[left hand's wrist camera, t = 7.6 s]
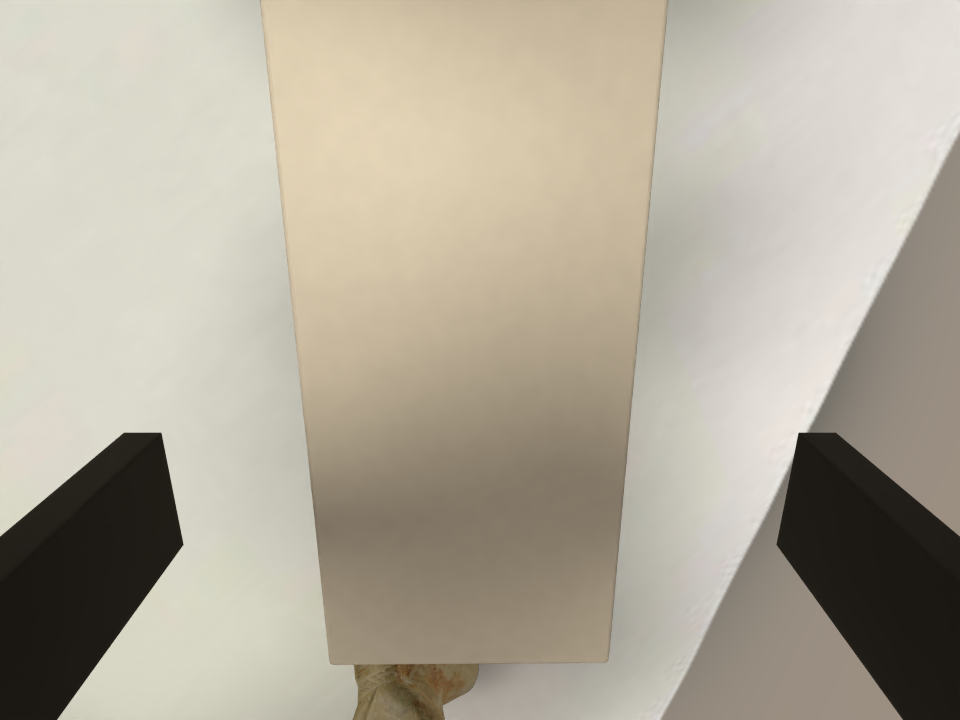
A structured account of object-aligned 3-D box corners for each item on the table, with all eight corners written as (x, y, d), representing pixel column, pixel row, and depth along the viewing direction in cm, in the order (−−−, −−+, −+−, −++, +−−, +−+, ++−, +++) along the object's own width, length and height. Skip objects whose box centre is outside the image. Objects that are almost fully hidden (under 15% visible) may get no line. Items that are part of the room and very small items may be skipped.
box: (558, 468, 21) (609, 664, 13) (383, 469, 21) (328, 666, 13) (597, -316, 14) (750, -885, 6) (336, -318, 14) (163, -894, 6)
